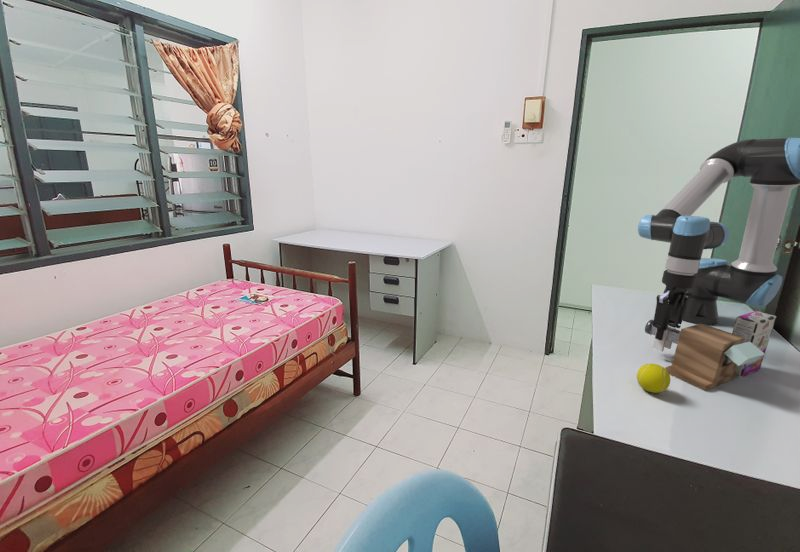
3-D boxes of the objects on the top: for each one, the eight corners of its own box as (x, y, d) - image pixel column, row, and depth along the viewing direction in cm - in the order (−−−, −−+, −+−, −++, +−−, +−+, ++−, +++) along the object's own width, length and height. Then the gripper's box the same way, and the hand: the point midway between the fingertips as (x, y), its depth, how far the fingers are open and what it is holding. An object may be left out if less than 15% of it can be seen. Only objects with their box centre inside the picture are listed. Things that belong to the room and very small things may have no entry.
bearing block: (696, 361, 114) (707, 321, 110) (736, 377, 105) (750, 335, 102) (664, 372, 106) (674, 330, 103) (704, 390, 98) (718, 346, 94)
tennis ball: (631, 390, 97) (637, 365, 95) (637, 379, 102) (642, 355, 100) (664, 401, 93) (671, 376, 91) (668, 389, 98) (674, 365, 96)
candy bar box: (739, 361, 114) (755, 310, 110) (760, 369, 110) (778, 316, 105) (720, 369, 109) (736, 315, 105) (741, 378, 105) (759, 322, 100)
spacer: (740, 348, 100) (750, 341, 98) (755, 361, 98) (765, 354, 96) (723, 352, 97) (733, 345, 95) (738, 366, 94) (748, 358, 92)
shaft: (652, 331, 118) (655, 318, 117) (734, 363, 100) (738, 348, 99) (643, 334, 117) (646, 320, 115) (725, 366, 98) (730, 351, 97)
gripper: (681, 266, 115) (664, 338, 121) (649, 271, 107) (632, 347, 114) (710, 272, 108) (690, 348, 115) (678, 278, 101) (658, 358, 108)
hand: (661, 347), depth 114 cm, fingers closed on shaft, 3 cm apart
